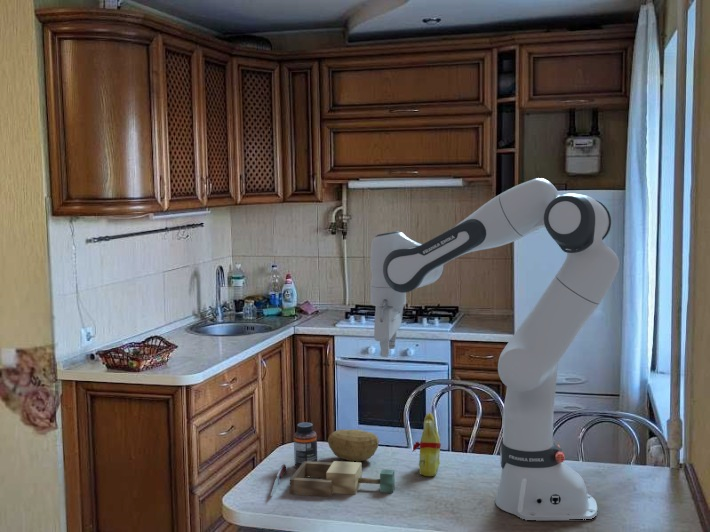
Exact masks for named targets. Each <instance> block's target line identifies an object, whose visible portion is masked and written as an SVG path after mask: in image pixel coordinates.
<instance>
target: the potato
mask: <svg viewBox="0 0 710 532" xmlns="http://www.w3.org/2000/svg"><path fill="white" fill-rule="evenodd" d="M379 442H380V440H379V438H378V436H377V435H376V434H375V433H373V432H370V431H366V430H365V431H364V430H361V429H338V430H335V431H333V432H332V433H330V434H329V436H328V438H327V443H328V447H329V448H330V450H331V451H332V453H333V454H334V455H335V456H336V457H337V458H340V459H342V460H346V461H348V462H354V461H356V462H363V461H364V462H365V461H367V460H369V459H371V458H372V457H373V456H374V455H375V453H376V452H377V449H378V447H379Z"/></svg>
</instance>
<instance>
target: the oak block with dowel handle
mask: <svg viewBox="0 0 710 532" xmlns="http://www.w3.org/2000/svg"><path fill="white" fill-rule="evenodd" d="M331 463H332V464H331V466H330V467H329V469H328V471H327V472H326V478H325V480H332V494H341V495H342V494H343V495H357V492H358V490H359V488H360V486H361V485H362V484H369V485H370V484H371V485H372V484H374V485H379V488H380V489H379V490H380V491H379V492H380V493H387V494H388V493H389V494H390V493H394V490H395V488H396V487H395V486H396V484H395V483H396V482H395V469H386V468H385V469H381V471H380V473H379V478H371V477H369V478H368V477H363V472H362V470H363V467H362V461H356V462H354V461H342V460H341V461H339V460H333V462H331Z"/></svg>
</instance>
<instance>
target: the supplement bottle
mask: <svg viewBox="0 0 710 532" xmlns="http://www.w3.org/2000/svg"><path fill="white" fill-rule="evenodd" d="M317 437H318V435H317V432H316V431H315V430H314V424H313V423H311V422H309V421H308V422H305V421H304V422H299V423H298V424H297V427H296V431H295V432H294V434H293V447H294V449H293V450H294V451H293V454H294V456H293V458H294V467H295V468H296V470H297V469H298V468H299V467H300V466H301V464H302V463H303V462H304V461H312V462H318V438H317Z"/></svg>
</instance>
